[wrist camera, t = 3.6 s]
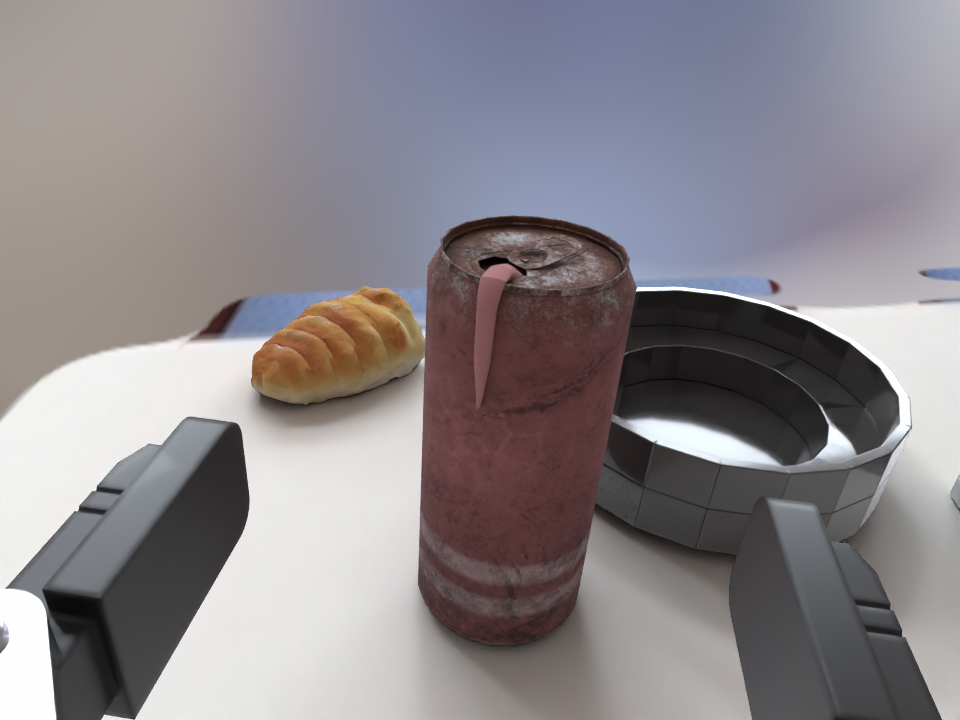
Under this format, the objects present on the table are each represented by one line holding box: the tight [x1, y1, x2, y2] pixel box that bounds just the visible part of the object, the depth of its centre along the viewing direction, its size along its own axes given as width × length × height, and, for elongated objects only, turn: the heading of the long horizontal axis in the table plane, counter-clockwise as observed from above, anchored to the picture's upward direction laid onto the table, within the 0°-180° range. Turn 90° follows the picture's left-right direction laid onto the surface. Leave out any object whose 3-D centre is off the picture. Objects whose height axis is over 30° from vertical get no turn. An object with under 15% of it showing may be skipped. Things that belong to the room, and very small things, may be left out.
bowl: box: [595, 287, 912, 555], centre depth 35 cm, size 16×16×5 cm
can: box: [418, 216, 637, 646], centre depth 24 cm, size 6×6×14 cm
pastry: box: [251, 287, 425, 406], centre depth 39 cm, size 9×7×4 cm
